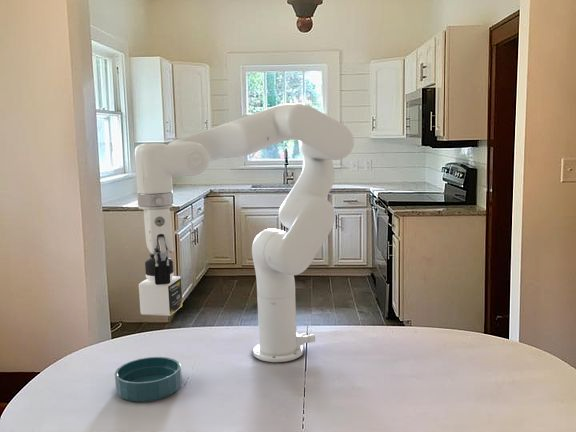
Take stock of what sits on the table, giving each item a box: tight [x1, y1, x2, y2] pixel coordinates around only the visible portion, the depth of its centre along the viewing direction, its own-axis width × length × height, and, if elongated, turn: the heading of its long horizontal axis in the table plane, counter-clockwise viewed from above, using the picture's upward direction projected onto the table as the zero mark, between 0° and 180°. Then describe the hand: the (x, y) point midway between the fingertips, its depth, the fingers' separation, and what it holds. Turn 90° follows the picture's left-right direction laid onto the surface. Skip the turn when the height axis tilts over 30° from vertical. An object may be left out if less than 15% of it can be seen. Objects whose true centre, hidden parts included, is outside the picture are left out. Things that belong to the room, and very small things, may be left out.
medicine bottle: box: [138, 257, 183, 317], centre depth 134 cm, size 7×7×12 cm
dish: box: [114, 356, 183, 403], centre depth 134 cm, size 14×14×4 cm
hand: (159, 278), depth 134 cm, fingers closed on medicine bottle, 7 cm apart
